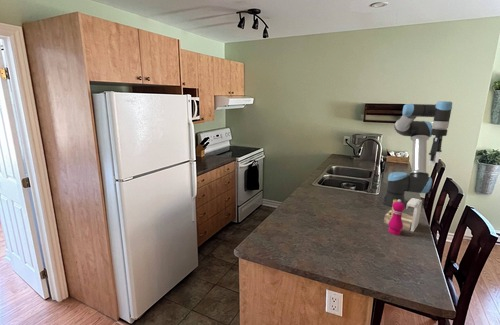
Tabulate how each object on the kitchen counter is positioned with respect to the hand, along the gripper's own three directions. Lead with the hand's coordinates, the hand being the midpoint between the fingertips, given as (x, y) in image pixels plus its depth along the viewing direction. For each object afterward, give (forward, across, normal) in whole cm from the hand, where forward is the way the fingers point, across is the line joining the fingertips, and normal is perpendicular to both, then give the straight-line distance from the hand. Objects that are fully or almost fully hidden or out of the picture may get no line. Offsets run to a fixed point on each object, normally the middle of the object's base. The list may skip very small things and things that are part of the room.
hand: (433, 164), depth 161 cm
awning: (+37, +15, -4) cm, 40 cm away
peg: (+37, +15, -13) cm, 42 cm away
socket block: (+37, +15, -10) cm, 41 cm away
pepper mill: (+37, +30, -9) cm, 48 cm away
